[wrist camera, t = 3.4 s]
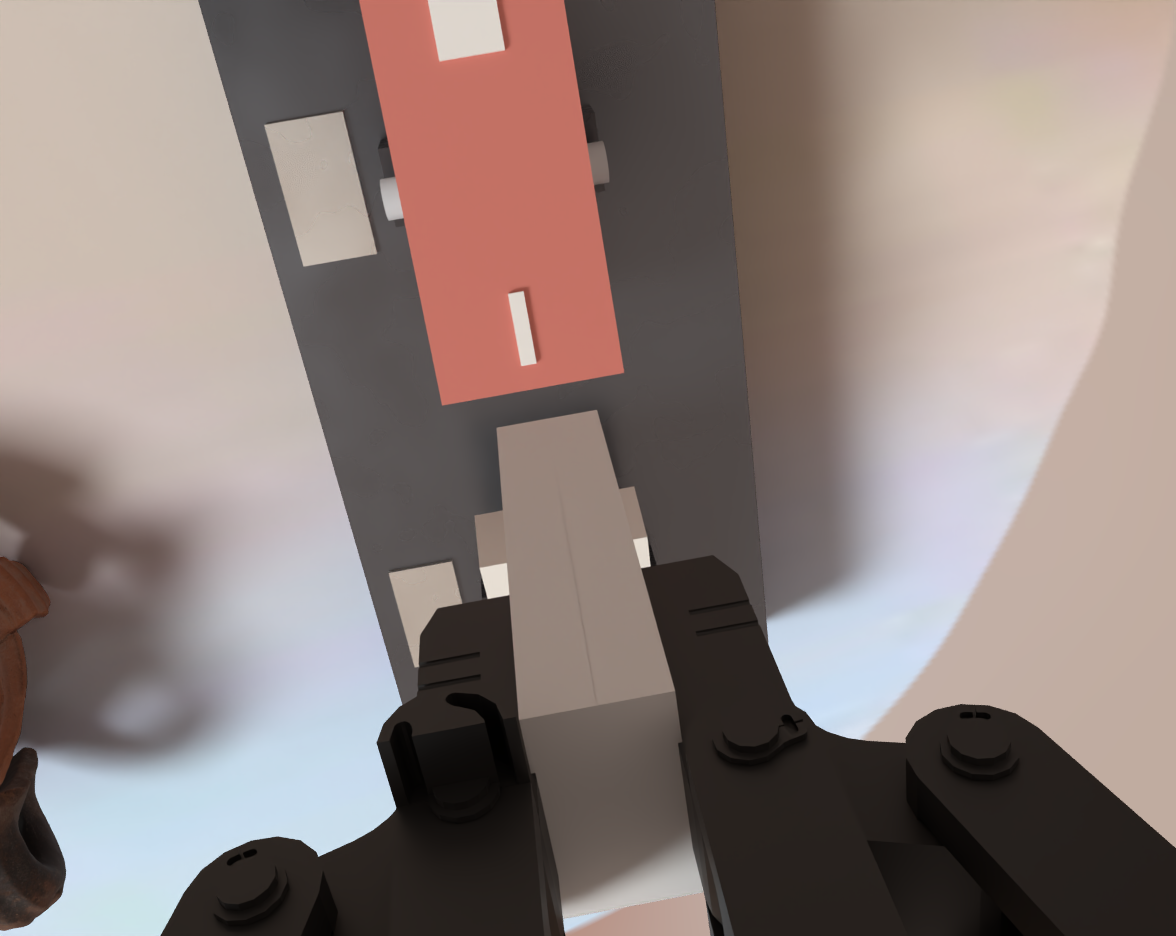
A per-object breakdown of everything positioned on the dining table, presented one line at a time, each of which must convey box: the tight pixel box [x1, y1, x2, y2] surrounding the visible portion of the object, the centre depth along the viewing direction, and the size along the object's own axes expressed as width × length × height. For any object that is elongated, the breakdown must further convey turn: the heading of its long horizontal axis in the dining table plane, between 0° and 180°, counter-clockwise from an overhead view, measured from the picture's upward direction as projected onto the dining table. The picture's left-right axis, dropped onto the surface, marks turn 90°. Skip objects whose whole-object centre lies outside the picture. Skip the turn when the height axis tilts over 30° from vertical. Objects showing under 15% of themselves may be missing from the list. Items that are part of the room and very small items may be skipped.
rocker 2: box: [474, 486, 650, 599], centre depth 27 cm, size 8×4×2 cm, turn 9°
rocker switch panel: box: [198, 0, 768, 705], centre depth 26 cm, size 26×10×5 cm, turn 8°
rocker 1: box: [359, 0, 624, 406], centre depth 21 cm, size 8×4×2 cm, turn 8°
